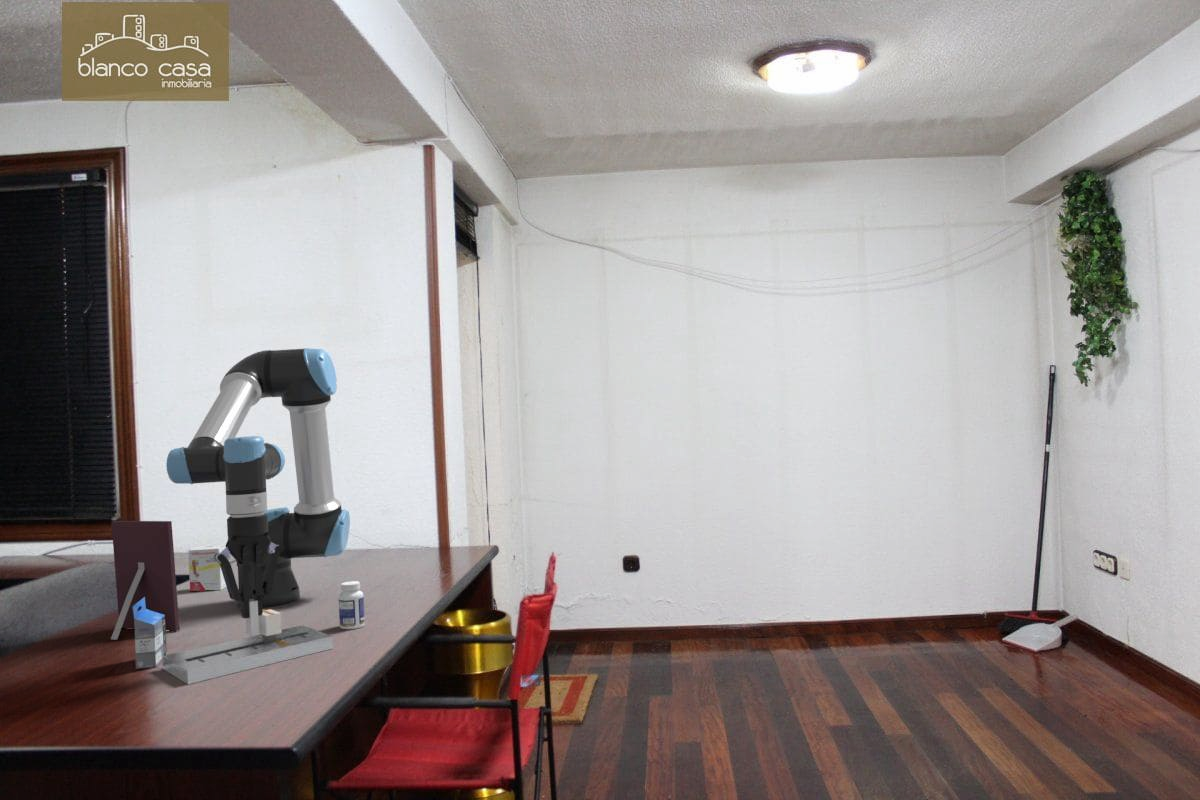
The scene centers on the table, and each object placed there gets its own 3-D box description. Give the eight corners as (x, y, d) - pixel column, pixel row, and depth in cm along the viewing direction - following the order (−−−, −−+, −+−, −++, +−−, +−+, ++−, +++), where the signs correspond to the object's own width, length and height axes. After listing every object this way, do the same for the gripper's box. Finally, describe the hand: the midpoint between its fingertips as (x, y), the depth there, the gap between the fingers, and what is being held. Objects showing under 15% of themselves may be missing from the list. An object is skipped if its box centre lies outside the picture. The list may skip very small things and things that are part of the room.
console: (163, 669, 166) (162, 655, 166) (302, 636, 186) (302, 624, 186) (187, 684, 156) (187, 669, 156) (333, 648, 176) (332, 635, 176)
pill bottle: (357, 622, 196) (355, 579, 196) (369, 625, 192) (367, 582, 192) (335, 627, 193) (333, 583, 193) (347, 631, 189) (345, 586, 189)
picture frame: (179, 630, 196) (174, 520, 196) (144, 643, 186) (138, 527, 186) (123, 627, 201) (118, 520, 201) (86, 639, 192) (81, 526, 192)
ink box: (189, 592, 238) (187, 549, 238) (195, 588, 243) (193, 546, 243) (221, 590, 239) (219, 547, 239) (227, 586, 243) (225, 544, 243)
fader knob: (257, 651, 174) (255, 611, 174) (272, 648, 177) (270, 608, 176) (267, 656, 171) (265, 615, 171) (282, 652, 173) (280, 612, 173)
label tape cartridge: (157, 667, 168) (154, 604, 168) (134, 670, 167) (131, 606, 167) (167, 655, 176) (165, 594, 176) (146, 657, 175) (143, 596, 175)
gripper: (220, 520, 164) (226, 644, 164) (287, 511, 173) (292, 629, 173) (206, 517, 170) (211, 637, 170) (271, 509, 179) (277, 623, 179)
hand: (252, 633), depth 171 cm, fingers closed
